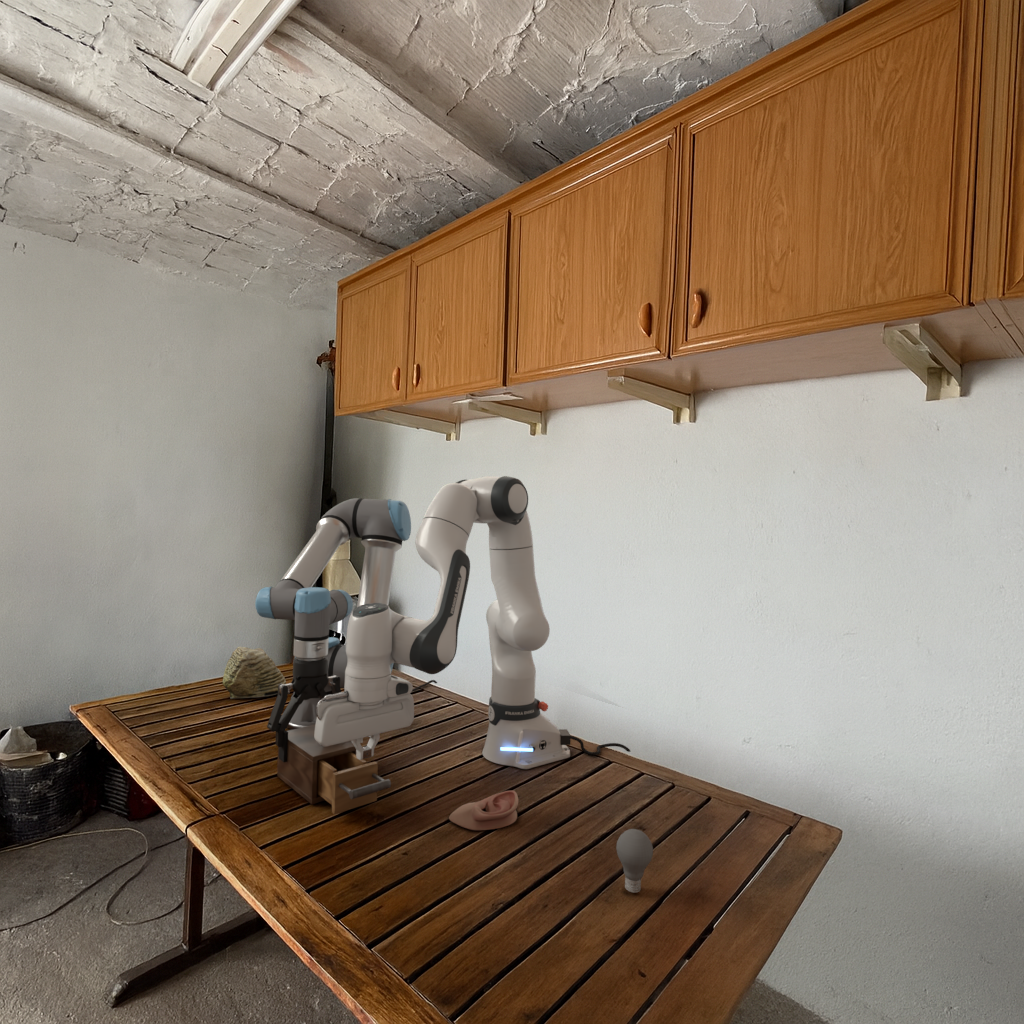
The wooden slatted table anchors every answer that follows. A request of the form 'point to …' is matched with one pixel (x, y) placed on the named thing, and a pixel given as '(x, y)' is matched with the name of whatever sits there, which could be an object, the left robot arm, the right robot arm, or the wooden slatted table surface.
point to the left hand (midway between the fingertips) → (307, 754)
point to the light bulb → (634, 857)
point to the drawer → (348, 781)
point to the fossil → (251, 674)
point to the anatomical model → (487, 812)
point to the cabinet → (307, 761)
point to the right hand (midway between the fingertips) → (364, 757)
